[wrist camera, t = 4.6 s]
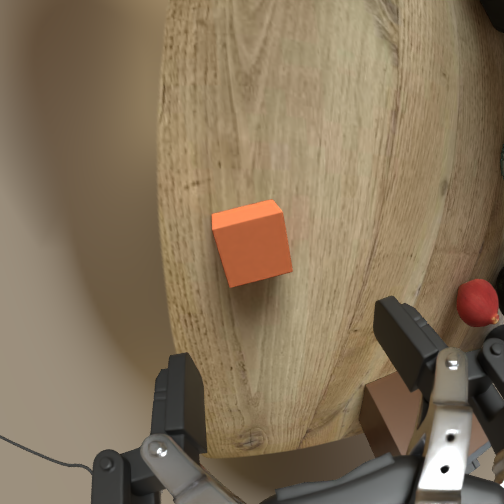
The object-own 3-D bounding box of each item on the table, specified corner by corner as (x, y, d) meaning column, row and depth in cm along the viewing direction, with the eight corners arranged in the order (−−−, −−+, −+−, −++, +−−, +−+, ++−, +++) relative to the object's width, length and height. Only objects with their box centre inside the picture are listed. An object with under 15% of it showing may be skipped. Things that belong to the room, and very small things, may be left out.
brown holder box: (358, 420, 39) (399, 514, 21) (365, 384, 34) (423, 503, 16) (416, 393, 40) (463, 476, 22) (432, 353, 34) (498, 450, 16)
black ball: (494, 342, 40) (518, 371, 31) (466, 361, 39) (491, 395, 31) (510, 307, 35) (539, 336, 27) (483, 325, 35) (515, 360, 26)
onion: (477, 278, 29) (514, 310, 22) (453, 311, 30) (487, 347, 23) (466, 260, 27) (509, 294, 20) (439, 296, 28) (478, 336, 21)
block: (226, 267, 22) (229, 288, 20) (211, 214, 20) (211, 229, 18) (282, 253, 22) (293, 272, 20) (272, 198, 20) (282, 211, 18)
